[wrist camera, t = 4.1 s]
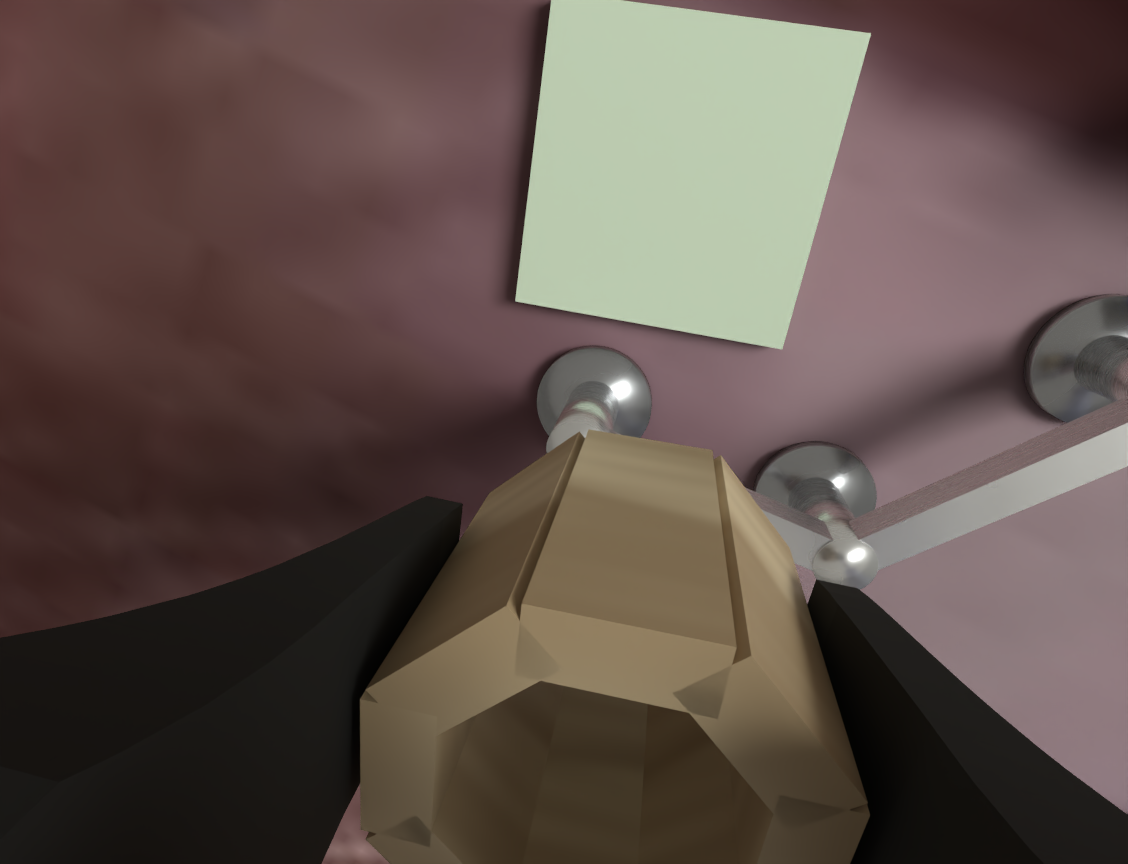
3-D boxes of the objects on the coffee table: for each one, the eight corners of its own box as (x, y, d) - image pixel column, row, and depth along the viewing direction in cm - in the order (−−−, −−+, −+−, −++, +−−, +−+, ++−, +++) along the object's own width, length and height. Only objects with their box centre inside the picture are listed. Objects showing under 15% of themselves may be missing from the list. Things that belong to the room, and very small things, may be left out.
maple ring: (743, 721, 13) (780, 1031, 8) (473, 663, 13) (360, 918, 9) (816, 467, 10) (924, 684, 6) (492, 413, 11) (358, 570, 6)
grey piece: (1050, 595, 18) (1142, 692, 14) (526, 486, 19) (494, 551, 16) (1199, 307, 15) (1361, 341, 11) (566, 203, 16) (537, 205, 13)
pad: (778, 344, 17) (782, 349, 16) (520, 297, 17) (515, 301, 17) (863, 39, 14) (870, 33, 14) (556, -2, 15) (552, -9, 14)
